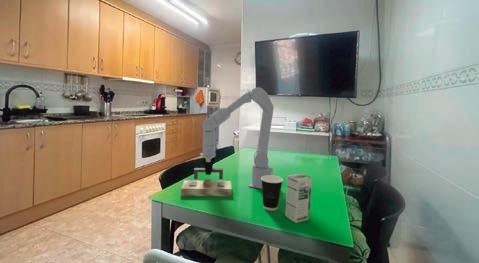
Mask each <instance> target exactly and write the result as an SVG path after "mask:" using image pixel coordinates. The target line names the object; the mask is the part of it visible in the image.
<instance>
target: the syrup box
mask: <svg viewBox="0 0 479 263" xmlns="http://www.w3.org/2000/svg"><path fill="white" fill-rule="evenodd" d="M312 183H313V178H312V177H311V176H309V175H306V174H304V173H297V174H288V175H287V177H286V193H285V194H286V198H285V217H287V219H289V220H291V221H292V222H293V223H294V224H295V223H296V224H297V223H301V222H305V221H309V220H310V217H311V216H310V214H311V213H310V212H311V198H312Z"/></svg>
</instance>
